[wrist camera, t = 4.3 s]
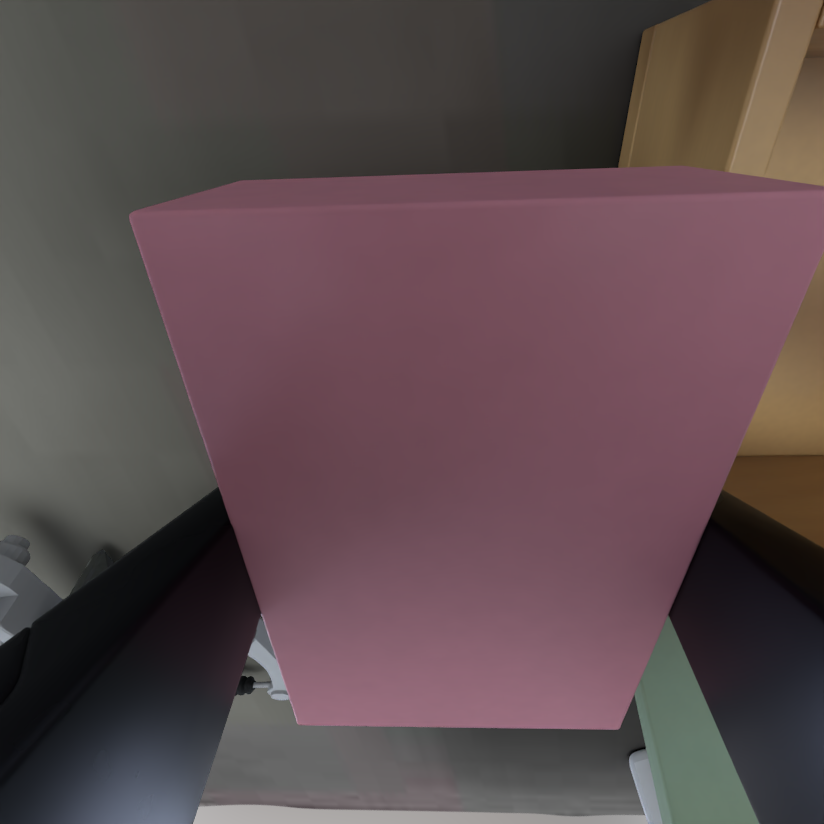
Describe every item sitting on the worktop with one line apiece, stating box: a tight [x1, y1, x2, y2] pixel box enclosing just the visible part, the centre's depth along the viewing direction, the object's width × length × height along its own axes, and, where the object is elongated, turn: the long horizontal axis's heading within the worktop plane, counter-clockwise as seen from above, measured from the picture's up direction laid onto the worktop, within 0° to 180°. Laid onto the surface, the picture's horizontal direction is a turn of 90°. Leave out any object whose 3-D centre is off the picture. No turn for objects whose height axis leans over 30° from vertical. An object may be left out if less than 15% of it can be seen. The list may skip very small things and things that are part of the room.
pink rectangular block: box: [129, 166, 824, 730], centre depth 7 cm, size 6×9×3 cm, turn 2°
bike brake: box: [0, 535, 289, 700], centre depth 24 cm, size 14×7×20 cm
